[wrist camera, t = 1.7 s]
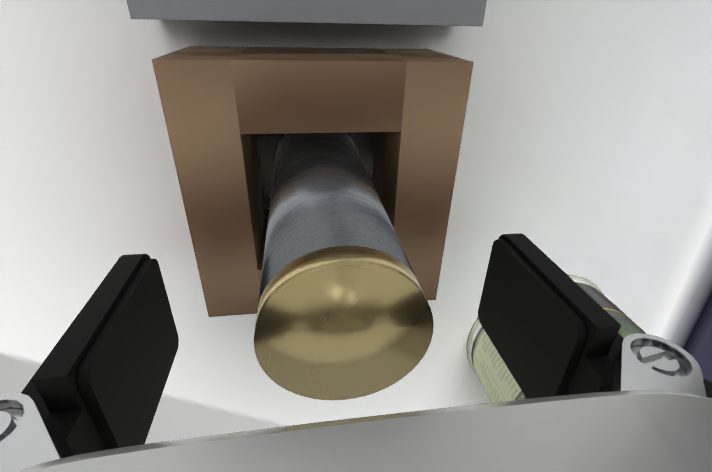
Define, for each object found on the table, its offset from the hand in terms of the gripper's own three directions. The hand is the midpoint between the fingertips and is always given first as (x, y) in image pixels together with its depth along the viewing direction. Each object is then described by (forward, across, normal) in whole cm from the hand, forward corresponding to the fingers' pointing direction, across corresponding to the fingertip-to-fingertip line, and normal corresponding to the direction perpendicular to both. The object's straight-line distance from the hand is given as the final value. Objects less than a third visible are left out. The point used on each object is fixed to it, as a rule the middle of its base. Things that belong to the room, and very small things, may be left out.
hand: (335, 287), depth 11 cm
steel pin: (+10, 0, -1) cm, 10 cm away
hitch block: (+10, 0, -1) cm, 10 cm away
